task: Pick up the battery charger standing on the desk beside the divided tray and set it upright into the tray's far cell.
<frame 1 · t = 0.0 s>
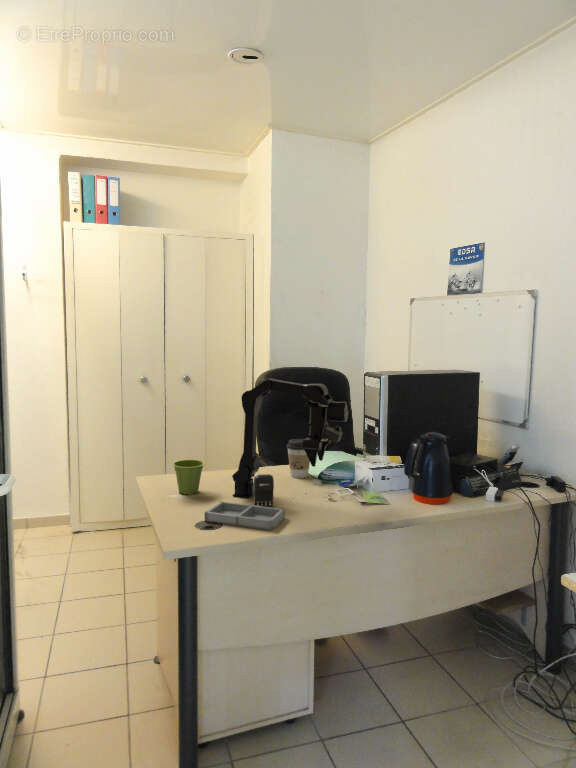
hand: (317, 463, 191), 15 cm above the table, tool pointing down, fingers open, 9 cm apart
battery charger: (263, 507, 189), on the table
divided tray: (244, 519, 176), on the table
plant pot: (189, 492, 205), on the table
coffee cup: (299, 476, 229), on the table
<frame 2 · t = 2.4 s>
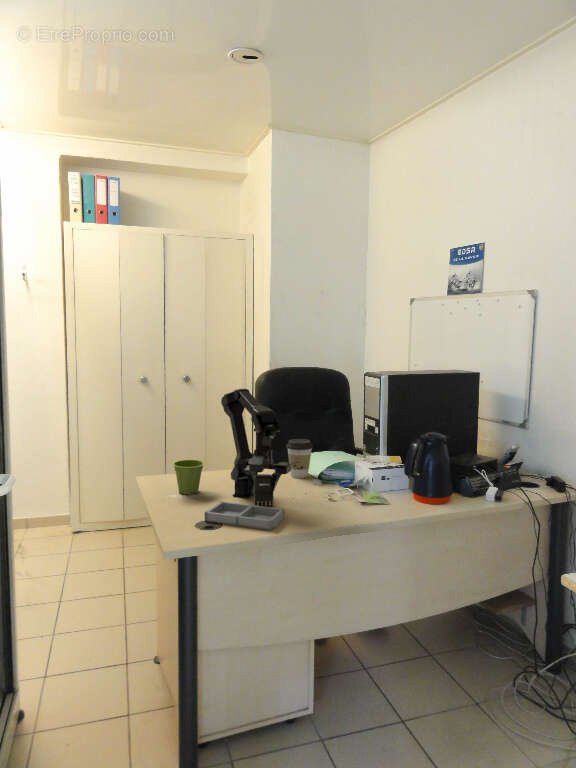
hand: (263, 490, 188), 6 cm above the table, tool pointing down, fingers closed on battery charger, 7 cm apart
battery charger: (263, 507, 189), on the table, touching gripper
everything else where it was.
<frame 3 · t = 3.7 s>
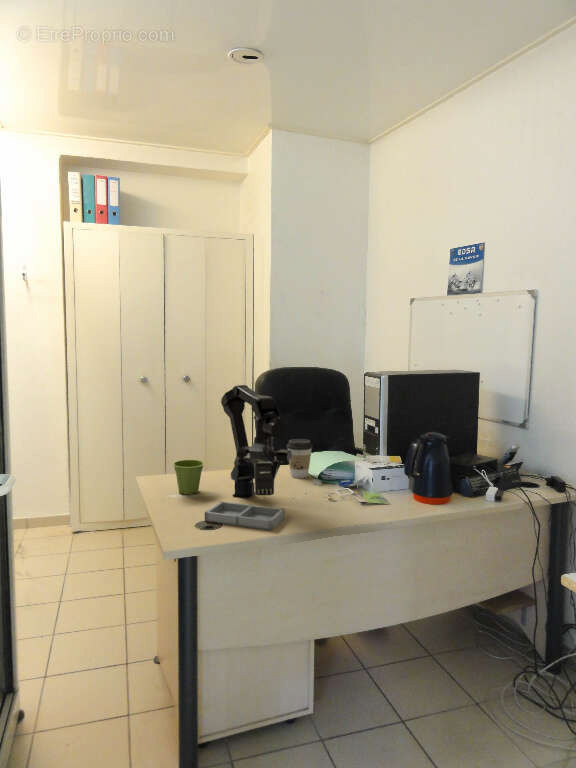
hand: (264, 477, 187), 10 cm above the table, tool pointing down, fingers closed on battery charger, 7 cm apart
battery charger: (264, 495, 188), point 4 cm above the table, touching gripper
everything else where it was.
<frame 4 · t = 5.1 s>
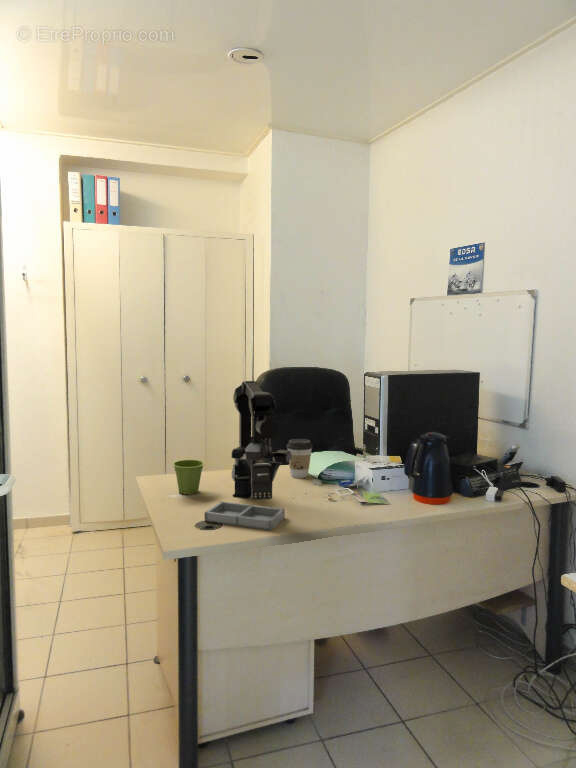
hand: (261, 480, 174), 13 cm above the table, tool pointing down, fingers closed on battery charger, 7 cm apart
battery charger: (262, 499, 174), point 7 cm above the table, touching gripper
everything else where it was.
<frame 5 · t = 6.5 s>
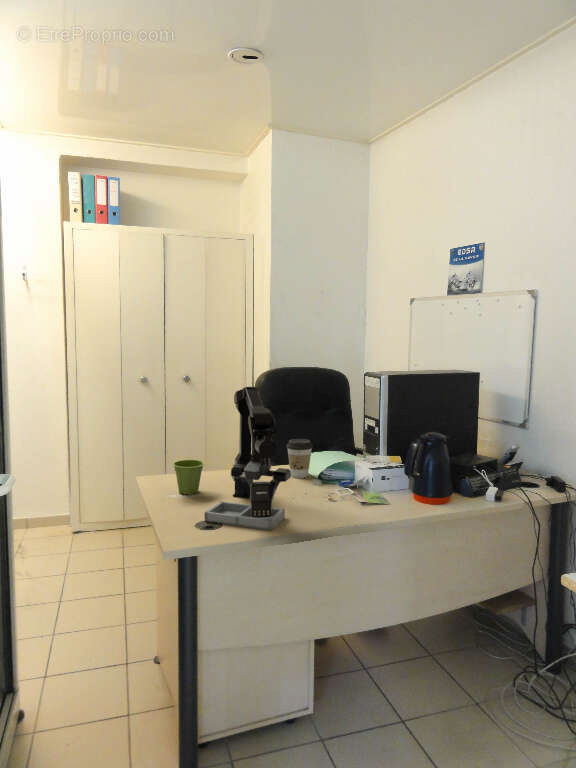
hand: (260, 498, 173), 8 cm above the table, tool pointing down, fingers closed on battery charger, 7 cm apart
battery charger: (261, 517, 174), point 1 cm above the table, touching gripper
everything else where it was.
when the fingers open (7 cm above the table, at t = 7.5 s): battery charger stays where it is, resting on divided tray.
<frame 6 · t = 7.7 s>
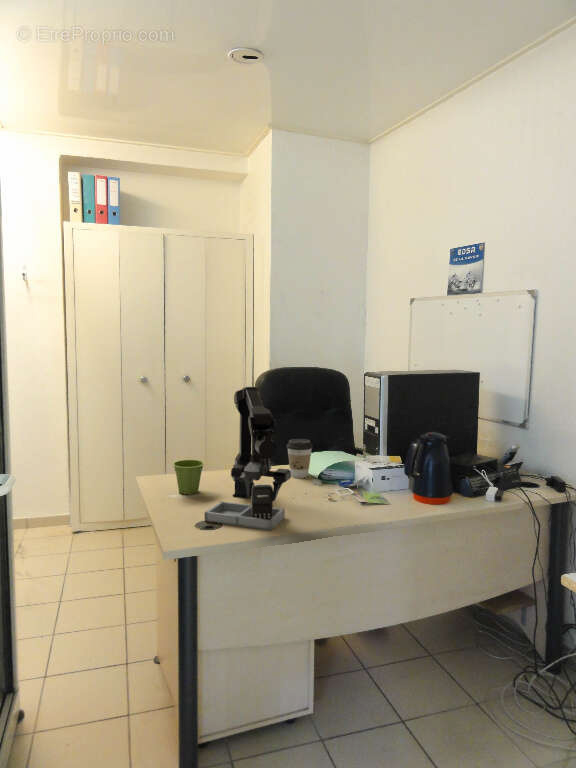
hand: (260, 499, 173), 7 cm above the table, tool pointing down, fingers open, 9 cm apart
battery charger: (262, 520, 174), resting on divided tray
everything else where it was.
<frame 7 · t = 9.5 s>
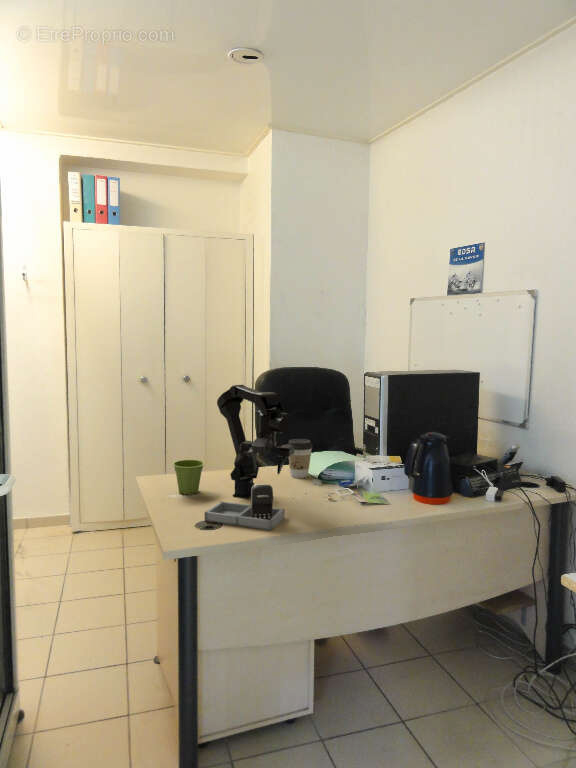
hand: (266, 472, 190), 12 cm above the table, tool pointing down, fingers open, 9 cm apart
nothing on the table moved.
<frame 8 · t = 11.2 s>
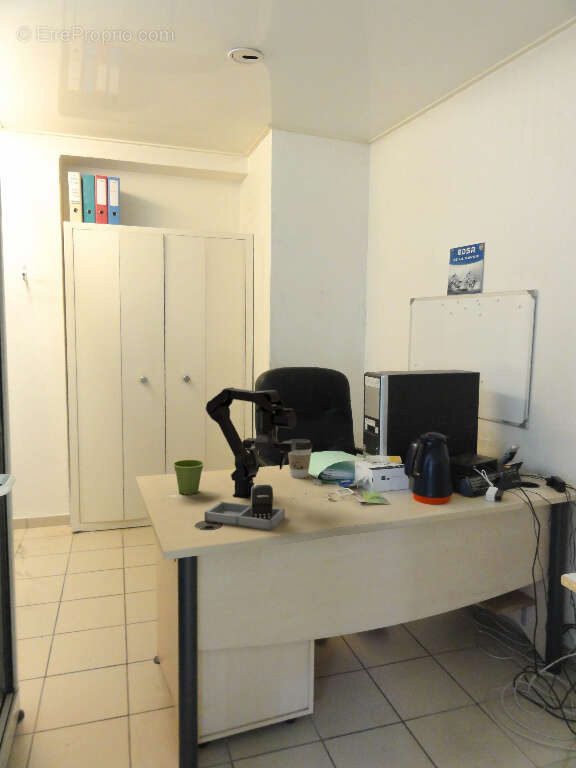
hand: (268, 468, 194), 12 cm above the table, tool pointing down, fingers open, 9 cm apart
nothing on the table moved.
at the end: battery charger 0.5 cm from the target spot on the divided tray, point 0.4 cm above the divided tray's base; battery charger tilted 0°; the gripper is holding nothing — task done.
